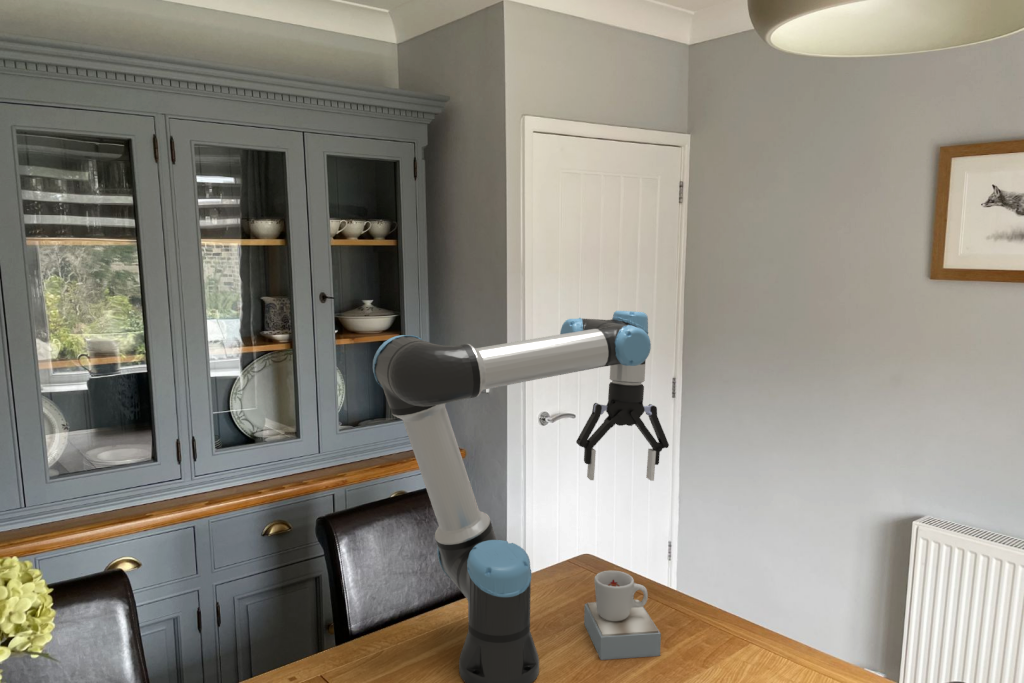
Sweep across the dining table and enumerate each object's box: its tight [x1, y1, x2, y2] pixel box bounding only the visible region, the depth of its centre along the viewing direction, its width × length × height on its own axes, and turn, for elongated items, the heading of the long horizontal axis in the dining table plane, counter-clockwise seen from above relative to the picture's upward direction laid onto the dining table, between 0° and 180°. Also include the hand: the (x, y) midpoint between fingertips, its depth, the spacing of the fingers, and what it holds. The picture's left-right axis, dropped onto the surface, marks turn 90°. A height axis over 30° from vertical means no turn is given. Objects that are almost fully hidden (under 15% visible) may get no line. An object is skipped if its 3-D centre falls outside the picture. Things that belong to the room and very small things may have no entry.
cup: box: [593, 570, 649, 621], centre depth 151 cm, size 11×8×8 cm
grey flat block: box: [583, 599, 662, 661], centre depth 152 cm, size 12×14×5 cm
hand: (620, 479), depth 162 cm, fingers open, 13 cm apart
